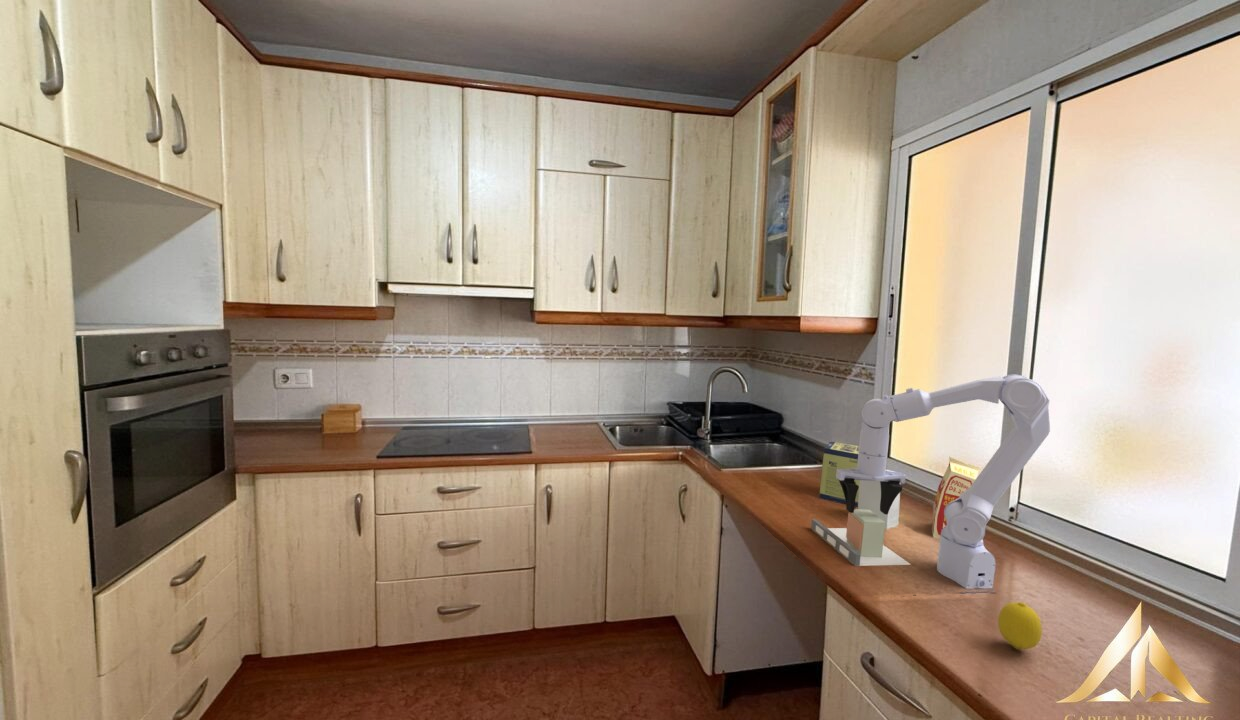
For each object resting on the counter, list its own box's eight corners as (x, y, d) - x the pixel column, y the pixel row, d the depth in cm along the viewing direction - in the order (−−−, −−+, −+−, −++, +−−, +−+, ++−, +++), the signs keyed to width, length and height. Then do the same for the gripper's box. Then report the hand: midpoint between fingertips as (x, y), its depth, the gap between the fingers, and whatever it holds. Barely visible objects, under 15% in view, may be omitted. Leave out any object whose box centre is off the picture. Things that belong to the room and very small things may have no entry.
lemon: (1018, 638, 84) (1024, 593, 83) (1047, 661, 79) (1054, 613, 78) (987, 637, 84) (992, 592, 83) (1014, 660, 78) (1020, 612, 78)
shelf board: (910, 569, 106) (912, 553, 106) (853, 571, 104) (855, 554, 104) (858, 532, 124) (860, 518, 123) (809, 533, 122) (811, 519, 121)
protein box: (876, 511, 139) (882, 457, 137) (818, 498, 147) (823, 447, 145) (879, 500, 147) (885, 449, 146) (824, 488, 155) (828, 440, 154)
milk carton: (933, 537, 123) (942, 459, 121) (929, 524, 131) (938, 451, 129) (977, 547, 119) (987, 466, 117) (971, 533, 127) (980, 457, 125)
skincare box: (898, 529, 127) (904, 473, 125) (885, 534, 124) (891, 476, 122) (866, 517, 134) (872, 464, 132) (854, 521, 130) (859, 467, 129)
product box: (866, 542, 115) (869, 509, 114) (881, 557, 108) (885, 522, 108) (844, 541, 115) (848, 508, 115) (859, 556, 108) (862, 521, 108)
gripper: (848, 456, 106) (842, 517, 107) (915, 459, 106) (909, 520, 107) (834, 447, 113) (829, 505, 114) (897, 450, 113) (891, 508, 114)
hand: (866, 511), depth 111 cm, fingers open, 7 cm apart
